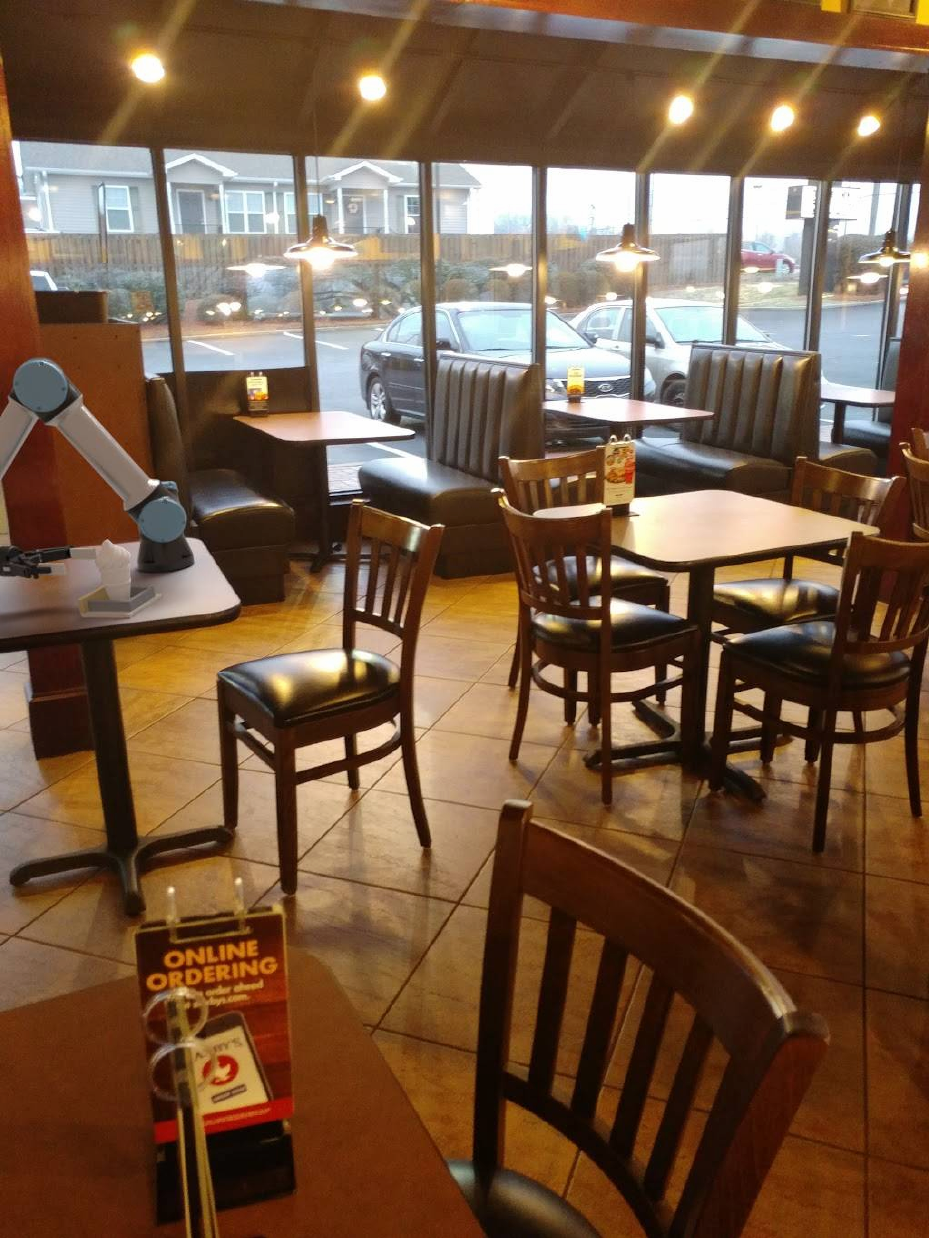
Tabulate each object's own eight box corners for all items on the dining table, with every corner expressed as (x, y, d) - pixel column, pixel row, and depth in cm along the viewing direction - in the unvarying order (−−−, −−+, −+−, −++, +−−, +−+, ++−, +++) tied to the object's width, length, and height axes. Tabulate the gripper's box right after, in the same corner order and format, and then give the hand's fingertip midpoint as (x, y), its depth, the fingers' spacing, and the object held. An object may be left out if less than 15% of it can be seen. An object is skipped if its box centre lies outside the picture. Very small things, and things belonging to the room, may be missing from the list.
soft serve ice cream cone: (140, 596, 251) (129, 533, 246) (137, 606, 243) (126, 541, 238) (104, 600, 249) (93, 537, 244) (100, 610, 242) (88, 545, 236)
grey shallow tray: (162, 596, 253) (159, 580, 251) (130, 617, 238) (127, 600, 236) (115, 596, 255) (112, 579, 254) (80, 617, 240) (77, 599, 239)
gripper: (34, 562, 262) (109, 562, 257) (-28, 591, 238) (54, 591, 234) (28, 533, 259) (104, 533, 255) (-35, 560, 236) (48, 560, 232)
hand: (80, 561), depth 245 cm, fingers open, 13 cm apart
